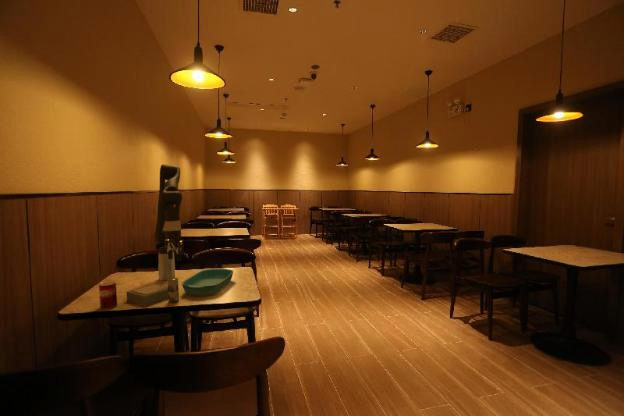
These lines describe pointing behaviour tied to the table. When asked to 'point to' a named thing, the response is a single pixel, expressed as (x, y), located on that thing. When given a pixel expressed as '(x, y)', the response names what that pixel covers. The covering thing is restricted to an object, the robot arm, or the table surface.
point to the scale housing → (147, 296)
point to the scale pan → (149, 289)
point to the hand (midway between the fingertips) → (175, 259)
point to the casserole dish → (207, 281)
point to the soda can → (108, 295)
